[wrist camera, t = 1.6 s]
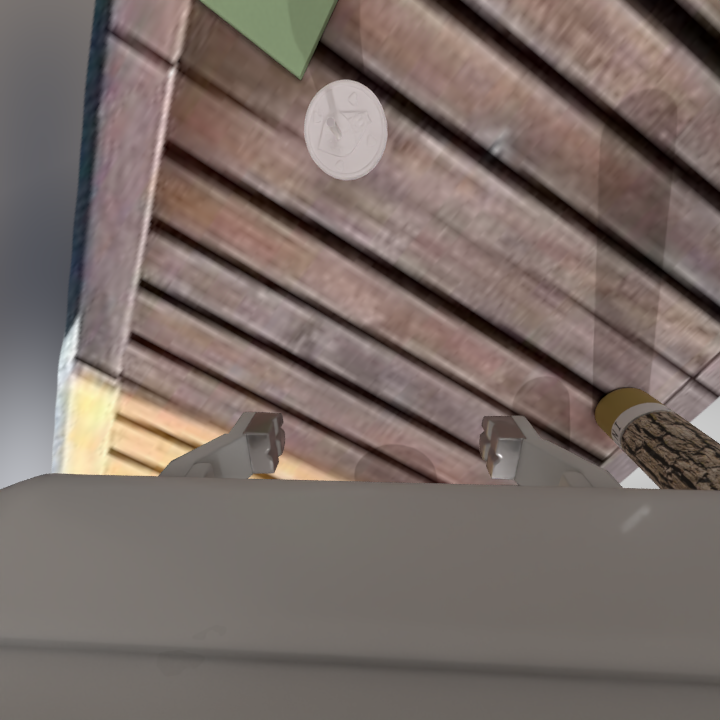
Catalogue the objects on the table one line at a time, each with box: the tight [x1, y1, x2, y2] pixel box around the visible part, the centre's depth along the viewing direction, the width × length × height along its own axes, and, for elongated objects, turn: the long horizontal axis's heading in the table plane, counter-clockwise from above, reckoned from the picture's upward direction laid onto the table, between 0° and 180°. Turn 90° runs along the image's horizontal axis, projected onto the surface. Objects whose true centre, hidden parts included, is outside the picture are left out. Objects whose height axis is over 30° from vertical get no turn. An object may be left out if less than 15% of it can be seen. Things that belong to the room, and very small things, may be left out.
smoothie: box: [304, 80, 388, 180], centre depth 28 cm, size 6×6×14 cm
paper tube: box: [595, 388, 720, 491], centre depth 33 cm, size 7×7×25 cm
